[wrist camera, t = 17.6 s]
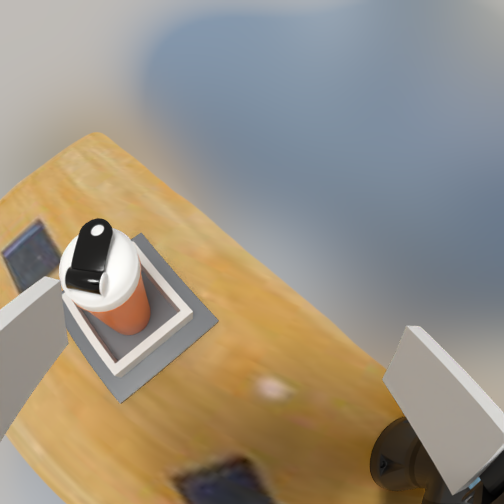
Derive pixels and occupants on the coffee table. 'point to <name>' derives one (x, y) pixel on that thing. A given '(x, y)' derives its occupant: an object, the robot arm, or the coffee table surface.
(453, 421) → the robot arm
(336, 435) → the coffee table surface
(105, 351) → the holder
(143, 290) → the shaker bottle
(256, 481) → the coffee table surface
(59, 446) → the coffee table surface
